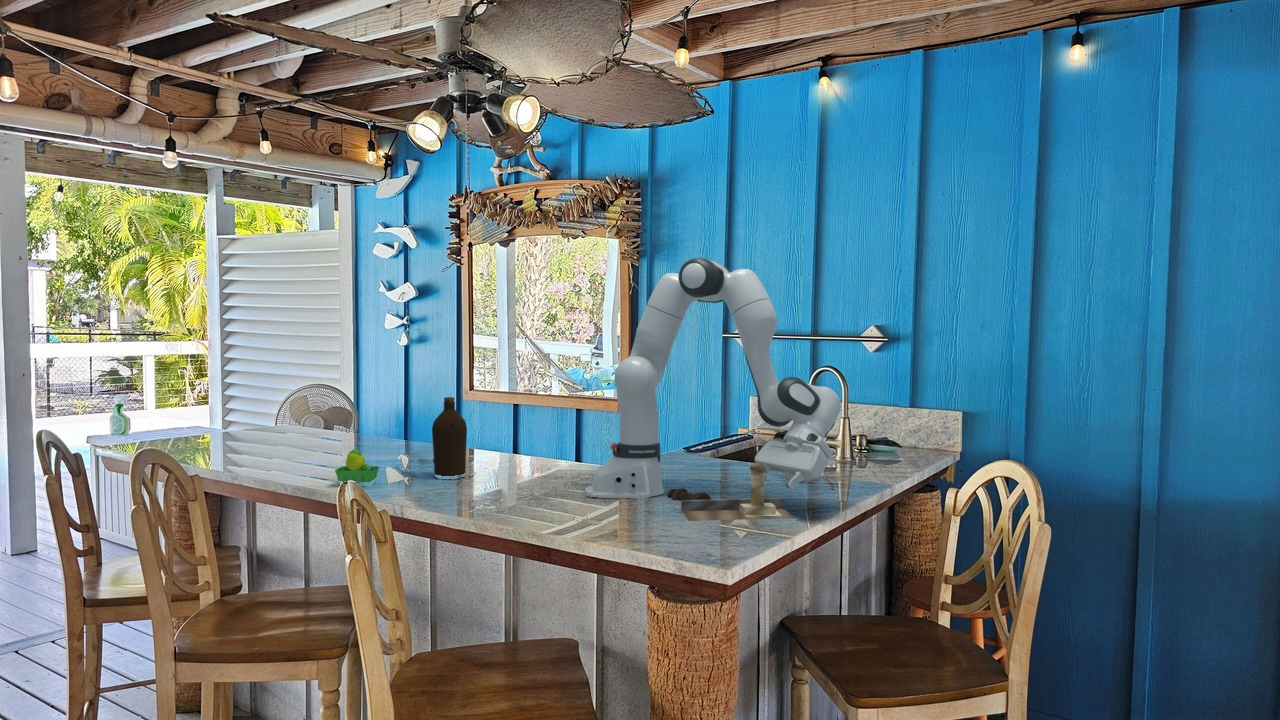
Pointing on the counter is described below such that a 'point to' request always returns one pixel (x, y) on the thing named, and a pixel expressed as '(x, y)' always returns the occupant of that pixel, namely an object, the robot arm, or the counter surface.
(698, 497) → the bolt
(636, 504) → the counter surface
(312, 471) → the counter surface
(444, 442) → the olive oil
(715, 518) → the board
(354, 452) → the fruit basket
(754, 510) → the stamp
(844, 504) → the counter surface
